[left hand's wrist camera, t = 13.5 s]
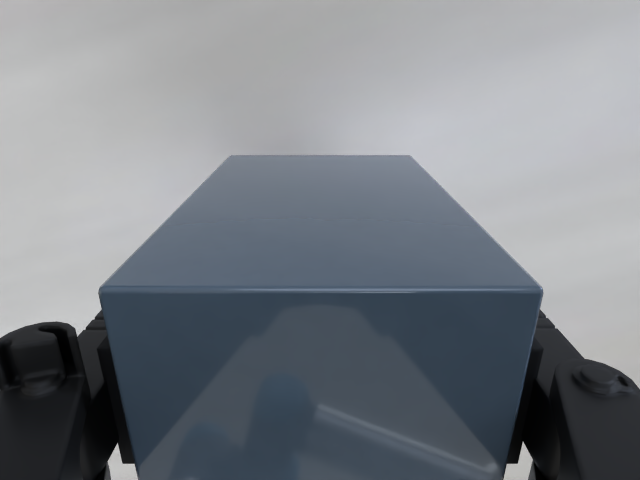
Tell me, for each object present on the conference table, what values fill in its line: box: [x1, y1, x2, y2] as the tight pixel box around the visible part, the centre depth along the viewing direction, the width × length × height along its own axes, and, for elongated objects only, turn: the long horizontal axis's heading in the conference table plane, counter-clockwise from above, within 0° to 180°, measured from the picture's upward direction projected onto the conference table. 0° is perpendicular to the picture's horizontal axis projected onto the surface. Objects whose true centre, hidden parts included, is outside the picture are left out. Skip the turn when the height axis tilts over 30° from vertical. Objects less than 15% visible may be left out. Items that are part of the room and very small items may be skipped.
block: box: [98, 155, 543, 480], centre depth 12 cm, size 6×6×10 cm
